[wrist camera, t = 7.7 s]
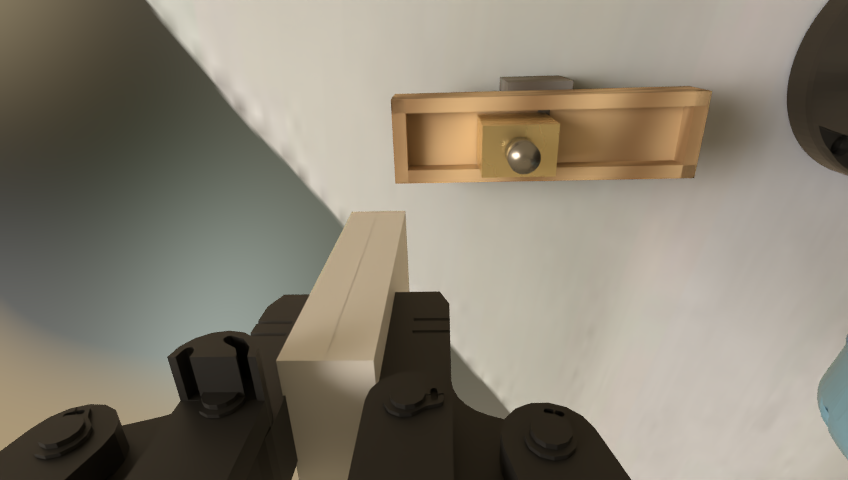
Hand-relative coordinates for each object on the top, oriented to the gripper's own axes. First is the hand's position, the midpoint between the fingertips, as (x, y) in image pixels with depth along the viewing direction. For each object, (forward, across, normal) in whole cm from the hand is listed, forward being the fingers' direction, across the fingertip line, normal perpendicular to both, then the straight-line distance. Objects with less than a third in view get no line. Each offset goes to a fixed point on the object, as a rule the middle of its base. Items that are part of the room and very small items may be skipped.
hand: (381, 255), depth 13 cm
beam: (+22, -8, 0) cm, 24 cm away
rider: (+17, -6, 0) cm, 18 cm away
